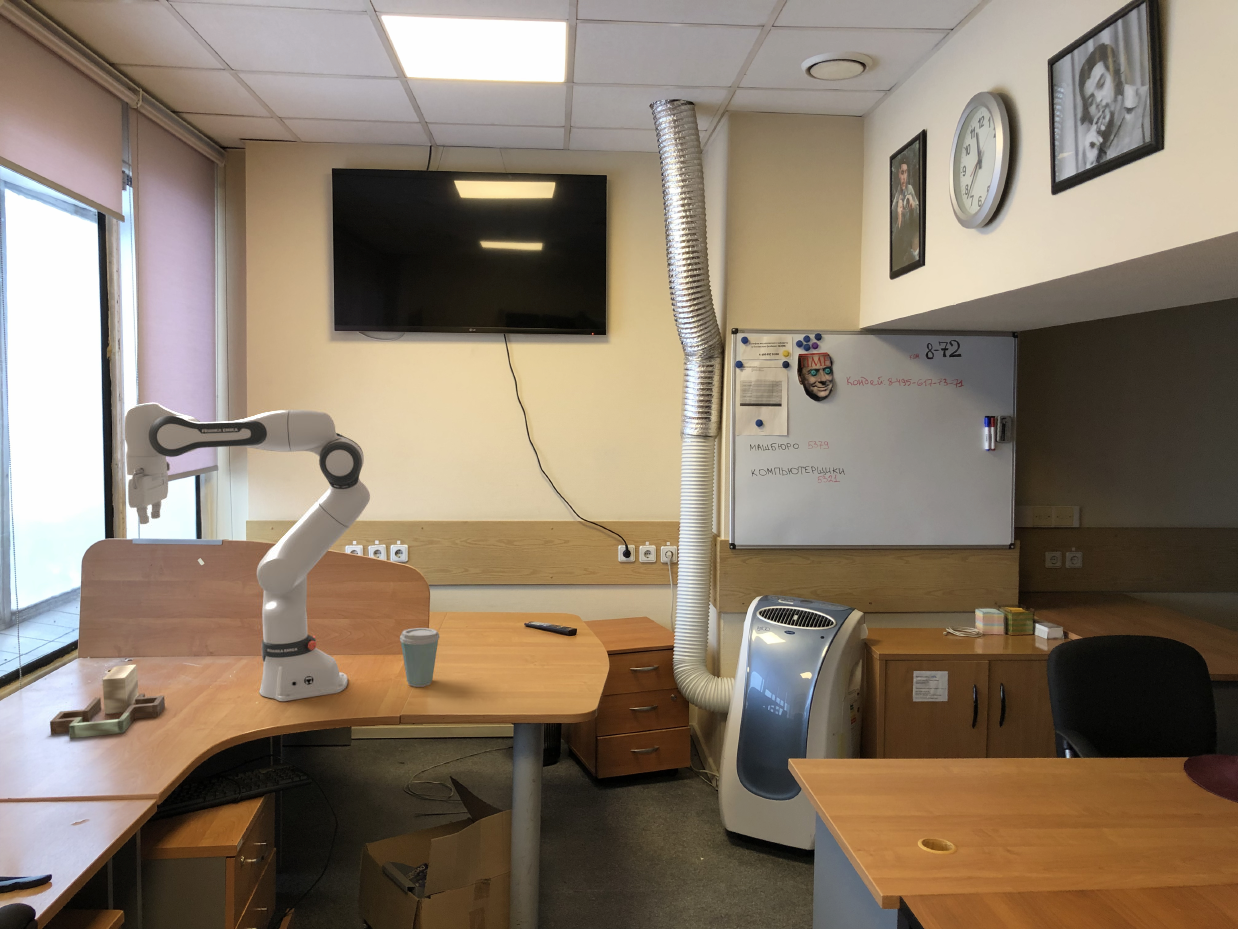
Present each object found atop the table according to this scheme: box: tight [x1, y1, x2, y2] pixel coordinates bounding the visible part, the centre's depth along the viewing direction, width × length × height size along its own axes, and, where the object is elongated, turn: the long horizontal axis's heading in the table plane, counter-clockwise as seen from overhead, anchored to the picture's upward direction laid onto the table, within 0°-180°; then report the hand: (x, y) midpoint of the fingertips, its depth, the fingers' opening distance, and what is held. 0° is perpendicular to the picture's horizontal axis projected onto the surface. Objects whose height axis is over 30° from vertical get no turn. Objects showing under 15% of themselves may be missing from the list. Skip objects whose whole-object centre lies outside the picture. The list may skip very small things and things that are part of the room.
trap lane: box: [49, 692, 166, 739], centre depth 208 cm, size 22×18×3 cm
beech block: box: [101, 664, 139, 715], centre depth 217 cm, size 5×10×9 cm, turn 15°
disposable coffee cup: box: [399, 627, 440, 688], centre depth 232 cm, size 11×11×15 cm
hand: (150, 521), depth 216 cm, fingers open, 8 cm apart
